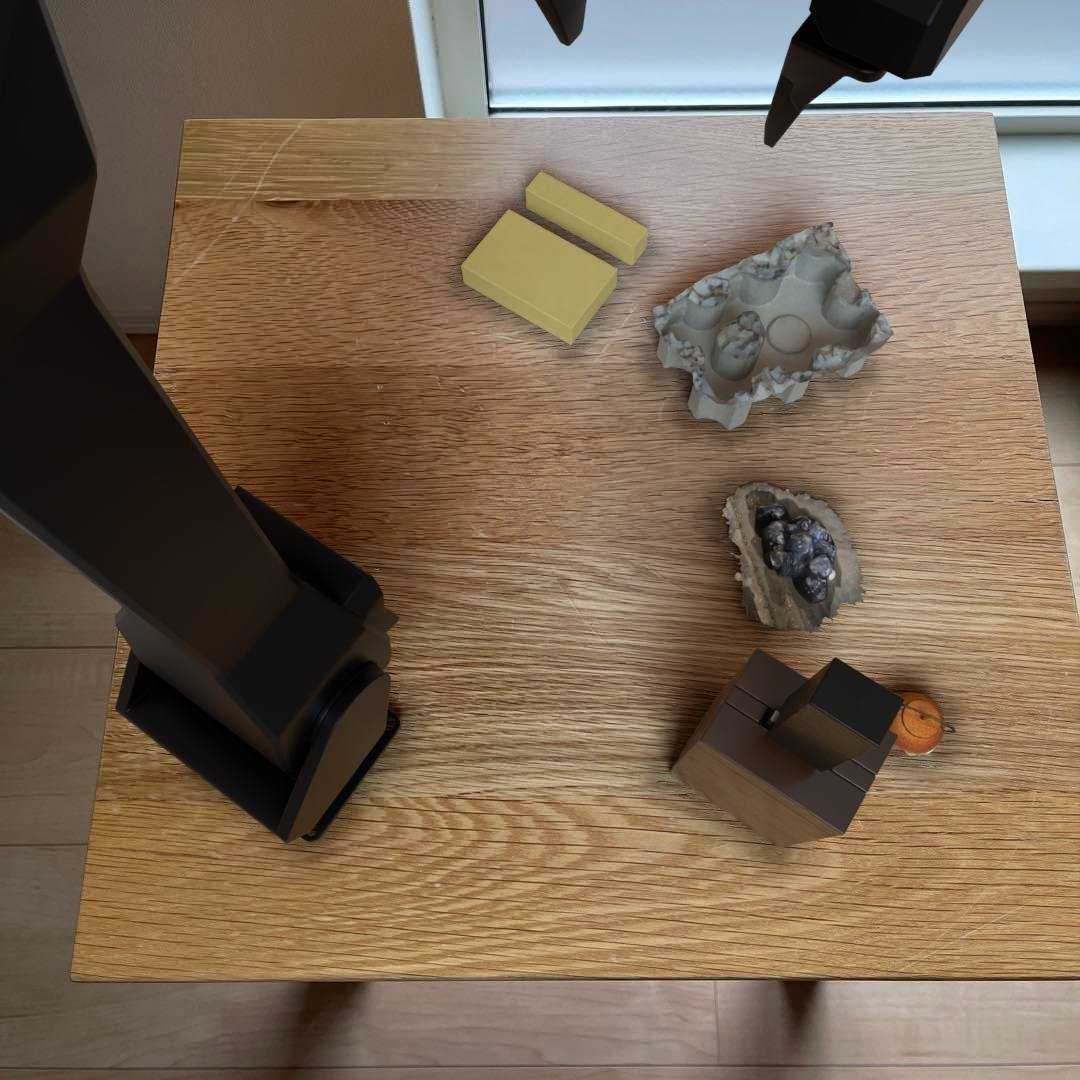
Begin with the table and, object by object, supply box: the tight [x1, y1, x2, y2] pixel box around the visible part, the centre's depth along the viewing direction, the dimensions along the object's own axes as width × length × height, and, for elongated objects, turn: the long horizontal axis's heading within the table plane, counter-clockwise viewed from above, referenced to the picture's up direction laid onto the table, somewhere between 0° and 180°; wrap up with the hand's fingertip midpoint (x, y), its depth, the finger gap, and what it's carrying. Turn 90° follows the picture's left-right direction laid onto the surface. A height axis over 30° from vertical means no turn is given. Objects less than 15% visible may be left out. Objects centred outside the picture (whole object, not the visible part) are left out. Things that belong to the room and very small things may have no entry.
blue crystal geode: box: [721, 481, 867, 634], centre depth 44 cm, size 7×8×2 cm
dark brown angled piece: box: [761, 657, 904, 772], centre depth 30 cm, size 2×2×8 cm
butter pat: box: [525, 170, 650, 267], centre depth 51 cm, size 2×7×2 cm, turn 56°
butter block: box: [460, 208, 619, 346], centre depth 50 cm, size 4×7×2 cm, turn 56°
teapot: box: [889, 692, 957, 756], centre depth 41 cm, size 3×3×3 cm
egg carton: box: [649, 221, 895, 431], centre depth 47 cm, size 11×8×4 cm
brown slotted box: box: [668, 647, 898, 848], centre depth 37 cm, size 4×6×10 cm
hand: (670, 87), depth 37 cm, fingers open, 9 cm apart
